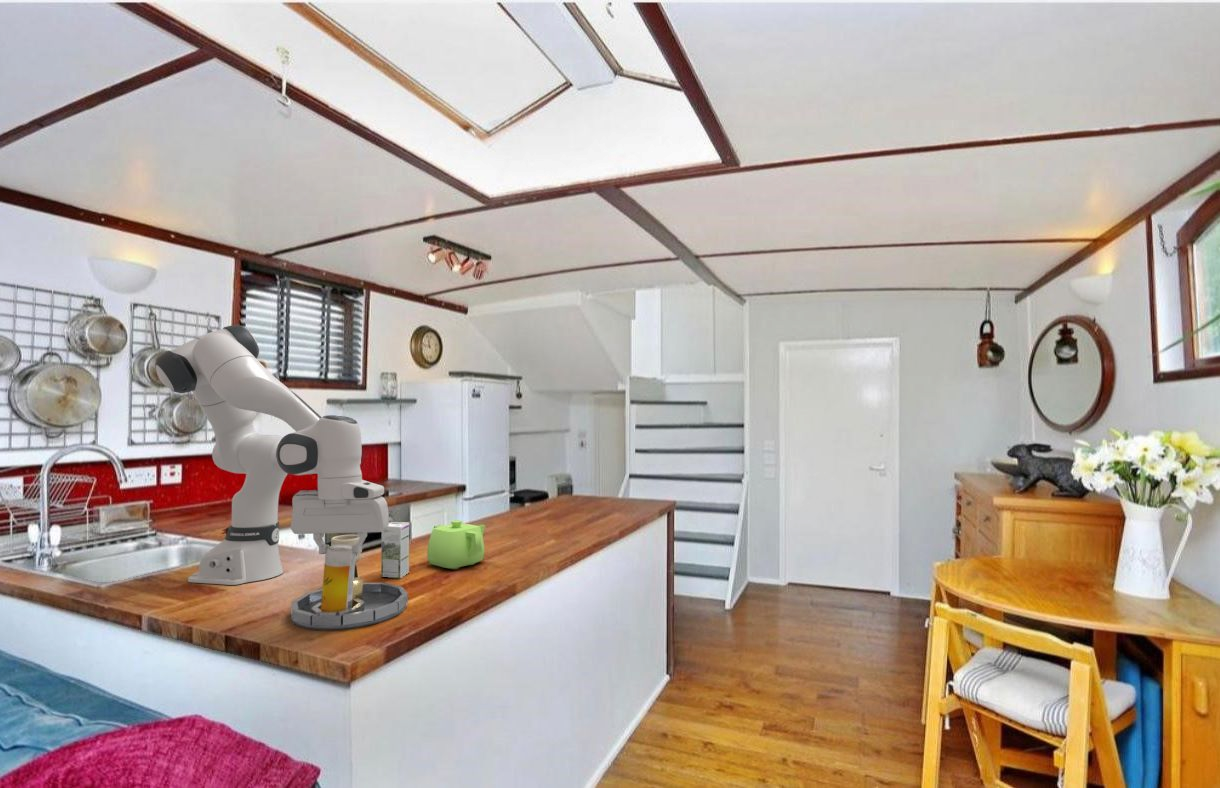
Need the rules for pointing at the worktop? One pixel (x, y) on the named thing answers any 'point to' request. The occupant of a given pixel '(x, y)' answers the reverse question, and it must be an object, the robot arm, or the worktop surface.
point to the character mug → (347, 541)
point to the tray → (366, 608)
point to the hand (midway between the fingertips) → (340, 553)
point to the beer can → (338, 578)
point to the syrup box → (395, 550)
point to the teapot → (456, 545)
